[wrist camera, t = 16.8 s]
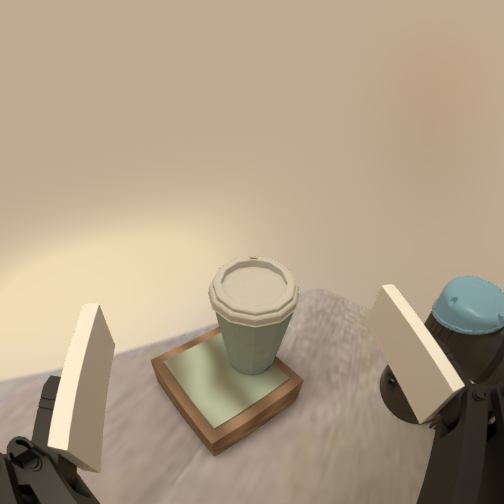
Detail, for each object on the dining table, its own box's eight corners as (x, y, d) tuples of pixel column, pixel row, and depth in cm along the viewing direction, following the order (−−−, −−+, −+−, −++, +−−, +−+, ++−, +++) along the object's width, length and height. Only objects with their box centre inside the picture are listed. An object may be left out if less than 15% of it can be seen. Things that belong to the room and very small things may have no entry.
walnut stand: (234, 340, 51) (235, 316, 48) (296, 399, 41) (304, 378, 38) (157, 380, 42) (150, 358, 38) (214, 456, 32) (211, 442, 28)
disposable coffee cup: (288, 387, 36) (310, 312, 28) (209, 387, 36) (202, 310, 28) (280, 332, 45) (295, 254, 37) (213, 330, 45) (211, 251, 36)
